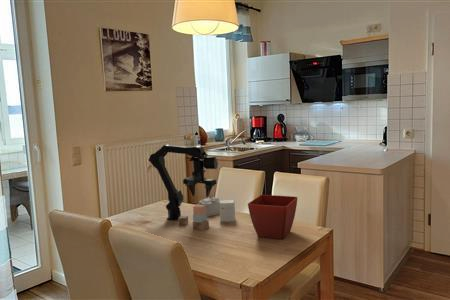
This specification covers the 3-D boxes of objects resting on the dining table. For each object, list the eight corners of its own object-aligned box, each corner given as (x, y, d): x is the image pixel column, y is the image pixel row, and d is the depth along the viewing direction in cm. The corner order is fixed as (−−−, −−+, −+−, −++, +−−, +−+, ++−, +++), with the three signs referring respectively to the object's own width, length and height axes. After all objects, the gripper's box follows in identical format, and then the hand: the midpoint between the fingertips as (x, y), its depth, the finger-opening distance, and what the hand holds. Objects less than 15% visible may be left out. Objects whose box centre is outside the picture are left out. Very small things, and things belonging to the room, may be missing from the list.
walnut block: (178, 225, 212) (178, 218, 211) (181, 222, 215) (180, 215, 215) (186, 225, 211) (185, 218, 210) (188, 223, 215) (187, 215, 214)
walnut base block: (192, 229, 204) (192, 221, 203) (199, 225, 209) (198, 218, 208) (202, 230, 201) (202, 223, 200) (208, 227, 206) (208, 219, 205)
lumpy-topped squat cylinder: (198, 212, 233) (197, 198, 232) (217, 208, 240) (216, 194, 238) (206, 216, 224) (205, 202, 223) (225, 212, 231) (225, 198, 229)
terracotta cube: (193, 214, 203) (193, 206, 202) (198, 211, 207) (198, 204, 206) (200, 215, 201) (200, 207, 200) (205, 212, 205) (205, 205, 204)
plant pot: (262, 225, 203) (261, 194, 201) (298, 229, 195) (298, 196, 193) (248, 238, 186) (246, 203, 184) (287, 243, 178) (286, 206, 176)
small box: (235, 218, 218) (234, 199, 217) (234, 221, 213) (234, 202, 211) (221, 218, 219) (220, 200, 218) (220, 221, 214) (219, 203, 212)
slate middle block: (193, 221, 203) (192, 214, 203) (198, 218, 208) (197, 211, 207) (201, 222, 201) (201, 215, 201) (206, 219, 206) (206, 212, 205)
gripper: (175, 170, 213) (177, 198, 215) (204, 172, 203) (206, 202, 206) (188, 167, 223) (190, 194, 225) (216, 168, 213) (217, 197, 215)
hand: (200, 196), depth 217 cm, fingers open, 9 cm apart
